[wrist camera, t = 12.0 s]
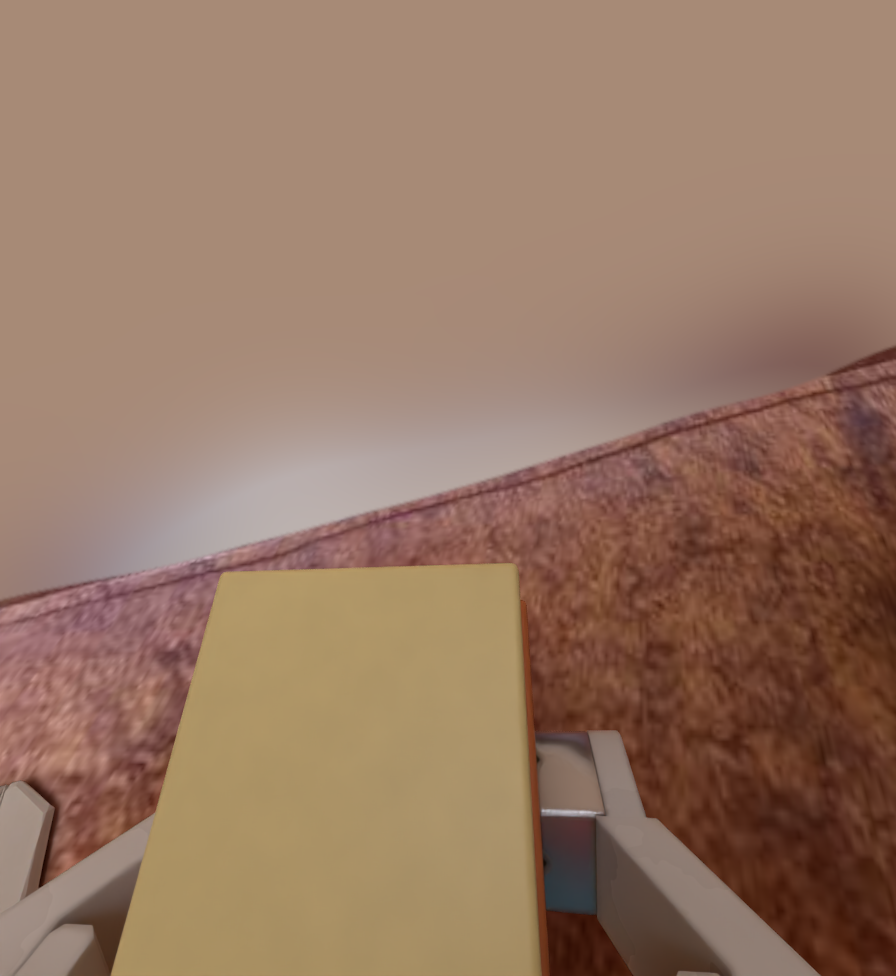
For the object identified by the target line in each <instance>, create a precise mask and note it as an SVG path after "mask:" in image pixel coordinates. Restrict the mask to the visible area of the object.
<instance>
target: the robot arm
mask: <svg viewBox="0 0 896 976" xmlns="http://www.w3.org/2000/svg"><path fill="white" fill-rule="evenodd" d="M535 744H536V760H537V776H538V791H539V807H540V823H541V839H542V854H543V870H544V886H545V902H546V911H555V912H566V913H576V914H587V915H597V919H598V921H599V923H600V924H601V926H602V927H603V929H604V930H605V932H606V934H607V935H608V937H609V938H610V940H611V941H612V943H613V945H614V946H615V948H616V949H617V951H618V952H619V954H620V956H621V957H622V959H623V960H624V962H625V963H626V965H627V967H628V968H629V970H630V971H631V973H632V974H633V976H821V975H819V974H818V973H817V972H816V971H815V970H814V969H813V968H812V967H811V966H810V965H809V964H808V963H807V962H806V961H805V960H804V959H803V958H802V957H801V956H800V955H799V954H798V953H797V952H796V951H794V950H793V949H792V948H791V947H790V946H789V945H788V944H787V943H786V942H785V941H784V940H783V939H782V938H781V937H780V936H779V935H778V934H777V933H776V932H775V931H774V930H773V929H772V928H771V927H769V926H768V925H767V924H766V923H765V922H764V921H763V920H762V919H761V918H760V917H759V916H758V915H757V914H756V913H755V912H754V911H753V910H752V909H751V908H750V907H749V906H748V905H747V904H746V903H744V902H743V901H742V900H741V899H740V898H739V897H738V896H737V895H736V894H735V893H734V892H733V891H732V890H731V889H730V888H729V887H728V886H727V885H726V884H725V883H724V882H723V881H722V880H721V879H719V878H718V877H717V876H716V875H715V874H714V873H713V872H712V871H711V870H710V869H709V868H708V867H707V866H706V865H705V864H704V863H703V862H702V861H701V860H700V859H699V858H698V857H697V856H696V855H694V854H693V853H692V852H691V851H690V850H689V849H688V848H687V847H686V846H685V845H684V844H683V843H682V842H681V841H680V840H679V839H678V838H677V837H676V836H675V835H674V834H673V833H672V832H671V831H669V830H668V829H667V828H666V827H665V826H664V825H663V824H662V823H661V822H660V821H659V820H658V819H657V818H646V815H645V811H644V808H643V805H642V802H641V799H640V795H639V792H638V789H637V786H636V783H635V779H634V776H633V773H632V770H631V767H630V764H629V760H628V757H627V754H626V751H625V748H624V744H623V741H622V738H621V735H620V734H619V732H618V731H617V730H587V732H586V731H535ZM154 816H155V813H154V814H152V815H151V816H149V817H148V818H146V819H145V820H143V821H142V822H140V823H139V824H137V825H136V826H134V827H133V828H131V829H129V830H128V831H126V832H125V833H123V834H122V835H120V836H119V837H117V838H116V839H114V840H113V841H111V842H110V843H108V844H106V845H105V846H103V847H102V848H100V849H99V850H97V851H96V852H94V853H93V854H91V855H90V856H88V857H87V858H85V859H83V860H82V861H80V862H79V863H77V864H76V865H74V866H73V867H71V868H70V869H68V870H67V871H65V872H64V873H62V874H60V875H59V876H57V877H56V878H54V879H53V880H51V881H50V882H48V883H47V884H45V885H44V886H42V887H41V888H39V889H37V890H36V891H34V892H33V893H31V894H30V895H28V896H27V897H25V898H24V899H22V900H21V901H19V902H18V903H16V904H14V905H13V906H11V907H10V908H8V909H7V910H5V911H4V912H2V913H1V914H0V976H111V972H112V969H113V965H114V961H115V958H116V954H117V950H118V947H119V943H120V939H121V936H122V932H123V929H124V925H125V921H126V918H127V914H128V910H129V907H130V903H131V899H132V896H133V892H134V888H135V885H136V881H137V878H138V874H139V870H140V867H141V863H142V859H143V856H144V852H145V848H146V845H147V841H148V838H149V834H150V830H151V827H152V823H153V819H154Z"/></svg>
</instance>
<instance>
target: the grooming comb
mask: <svg viewBox="0 0 896 976" xmlns="http://www.w3.org/2000/svg"><path fill="white" fill-rule="evenodd" d="M54 810H55V808H54V807H53V806H51V805H50V804H49V803H48V802H47V801H46V800H45V799H44V798H43V797H42V796H41V795H40V794H38V793H37V792H36V791H35V790H34V789H33V788H32V787H31V786H29V785H28V784H27V783H26V782H25V781H18V782H13V783H11V785H8V786H7V785H6V784H5V785H4V786H2V787H1V786H0V914H1V913H2V912H4V911H5V910H7V909H8V908H10V907H11V906H13V905H14V904H16V903H18V902H19V901H21V900H22V899H24V898H25V897H27V896H28V895H30V894H31V893H33V892H34V891H36V890H37V889H38V886H39V881H40V876H41V871H42V866H43V861H44V856H45V852H46V847H47V842H48V837H49V832H50V827H51V823H52V819H53V814H54Z"/></svg>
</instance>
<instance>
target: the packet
mask: <svg viewBox="0 0 896 976" xmlns="http://www.w3.org/2000/svg"><path fill="white" fill-rule="evenodd" d="M111 976H550V965H549V949H548V933H547V918H546V902H545V886H544V870H543V854H542V839H541V823H540V807H539V791H538V776H537V760H536V744H535V728H534V712H533V697H532V681H531V665H530V649H529V634H528V618H527V605H526V603H525V601H523V600H520V585H519V570H518V568H517V566H516V565H515V564H512V563H495V564H463V565H431V566H399V567H368V568H336V569H304V570H272V571H240V572H225V573H222V575H221V576H220V579H219V583H218V586H217V590H216V594H215V597H214V601H213V605H212V608H211V612H210V616H209V619H208V623H207V626H206V630H205V634H204V637H203V641H202V645H201V648H200V652H199V656H198V659H197V663H196V666H195V670H194V674H193V677H192V681H191V685H190V688H189V692H188V696H187V699H186V703H185V706H184V710H183V714H182V717H181V721H180V725H179V728H178V732H177V736H176V739H175V743H174V747H173V750H172V754H171V757H170V761H169V765H168V768H167V772H166V776H165V779H164V783H163V787H162V790H161V794H160V797H159V801H158V805H157V808H156V812H155V816H154V819H153V823H152V827H151V830H150V834H149V838H148V841H147V845H146V848H145V852H144V856H143V859H142V863H141V867H140V870H139V874H138V878H137V881H136V885H135V888H134V892H133V896H132V899H131V903H130V907H129V910H128V914H127V918H126V921H125V925H124V929H123V932H122V936H121V939H120V943H119V947H118V950H117V954H116V958H115V961H114V965H113V969H112V972H111Z"/></svg>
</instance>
